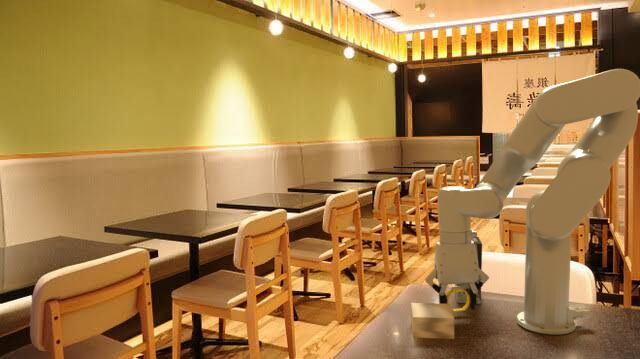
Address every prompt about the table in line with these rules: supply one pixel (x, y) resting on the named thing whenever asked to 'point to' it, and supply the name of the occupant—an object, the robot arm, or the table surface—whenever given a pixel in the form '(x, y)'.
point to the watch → (458, 289)
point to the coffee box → (462, 296)
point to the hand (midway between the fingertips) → (457, 308)
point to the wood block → (432, 320)
